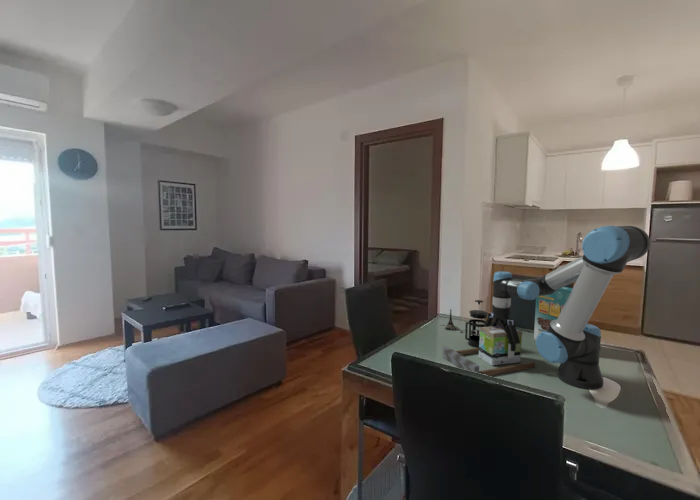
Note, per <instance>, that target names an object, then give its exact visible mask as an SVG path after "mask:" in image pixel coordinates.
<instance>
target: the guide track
mask: <svg viewBox="0 0 700 500" xmlns="http://www.w3.org/2000/svg"><path fill="white" fill-rule="evenodd" d="M473 354H479V348H476V347H472V348H467V349H461V350H454V349H452V348H450V347H448V346H442V359H445V360H446V361H448V362H449V363H451V364H452V365H454V366H455V367H456V368H458V369H460V368H462V369H466V370H470V371H473V372H477V373H481V374H486V375H489V376H495V375H500V374H506V373H510V372H511V373H512V372H518V371H523V370H527V369H532V368H533V369H534V368H536V362H534V361H529V362H523V363H519V364H518V363H517V364H513V365H507V366H500V367H496V368H491V369H485V370H480V365H479V364H477V363H475V362H474V361H472V360H470V359H468V358H467V357H466V356H467V355H473ZM489 376H488V377H489Z"/></svg>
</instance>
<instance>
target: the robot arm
mask: <svg viewBox="0 0 700 500" xmlns="http://www.w3.org/2000/svg"><path fill="white" fill-rule="evenodd" d="M650 248H651V238H650V236H649V235H648V233H647V232H646V231H645V230H644V229H642V228H640V227H637V226H634V225H619V226H618V225H617V226H615V225H604V226H600V227H596V228H594V229H592V230H591V231H589V232H588V233H587V234H586V235H585V237H584V238H583V241H582V244H581V249H582V253H583V254H582V256H580V257H578V258H576V259H574V260H572V261H570V262H568V263H566V264H564V265H562V266H560V267H558V268H556V269H554V270H552V271H551V272H549V273H547V274H544V275H542V276H540V277H537V278H530V279H529V278H528V279H519V278H514V277H513V274H512V273H511V272H510V271H502V270H501V271H500V270H499V271H495V272H494V274H493V280H492V282H493V283H492V307H491V308H492V309H491V312H490V313H489V312H488V318H487V320H486V322H485V324H484V323H483V324H484V326H483V327H490V326H500V327H502V329H503V330H504V331H505V332H506V335H507V337H508V339H509V341H510V343H509V344H508V358H514V351H515V349H516V344H519V343H520V340H519V337H518V334H517V330H518V329H517V327H516V321H515V320H514V319H512V320H511V319H510V316H511V311H512V310H511V308H512V307H511V306H512V297H514V298H519V299H521V300H522V299H523V300H527V301H534V300H536V298H537V297H538V296H542V295H550V294H553V293H555V292H556V291H557V290H558V289H560V288H562V287H567V286H569V285H571V284H573V283H574V285H573V287H572V288H573V289H572V291H571V293H570V295H569V297H568V299H567V301H566V303H565V305H564V307H563V309H562V311H561V313H560V315H559V317H558V319H557V320H552V321H551V322H550V324H549V326H548V328H547V330H546V332H541V333H540V334H539V335H538V336H537V338H536V340H535V346H536V348H537V352H538V353H539V355H540V356H541V357H542V358H543V359H544V360H545V361H547V362H549V363H551V364H559V367H558V369H557V373H556V374H557V378H558V379H559V380H561V382H564V383H565V384H568V385H570V386H573V387H576V388H580V389H585V390H599V389H601V388H603V387H604V377H603V375H602V371H601V368H600V352H601V342H602V341H601V340H602V336H601V335H602V334H601V333H602V330H601V328H599V327H598V326H596V325H594V324H590V323H588V322H590V318H591V317H592V315H593V313H594V311H595V310H596V308H597V306H598V305H599V303H600V301H601V299H602V297H603V296H604V293H605V291H606V290H607V287H608V286H609V285H610V282H611V281H612V279H613V277H614V275H618V274H621V273H623V271H624V269H625V268H626V265H627V264H628V263H629V262H631V261H634V260H638V259H640V258H642V257H643V256H645V255H646V254H647V253H648V251H649V249H650ZM493 319H494V320H493ZM492 320H493V321H492ZM506 326H507V327H506ZM516 329H517V330H516ZM512 340H513V341H512ZM516 340H517V341H516Z"/></svg>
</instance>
